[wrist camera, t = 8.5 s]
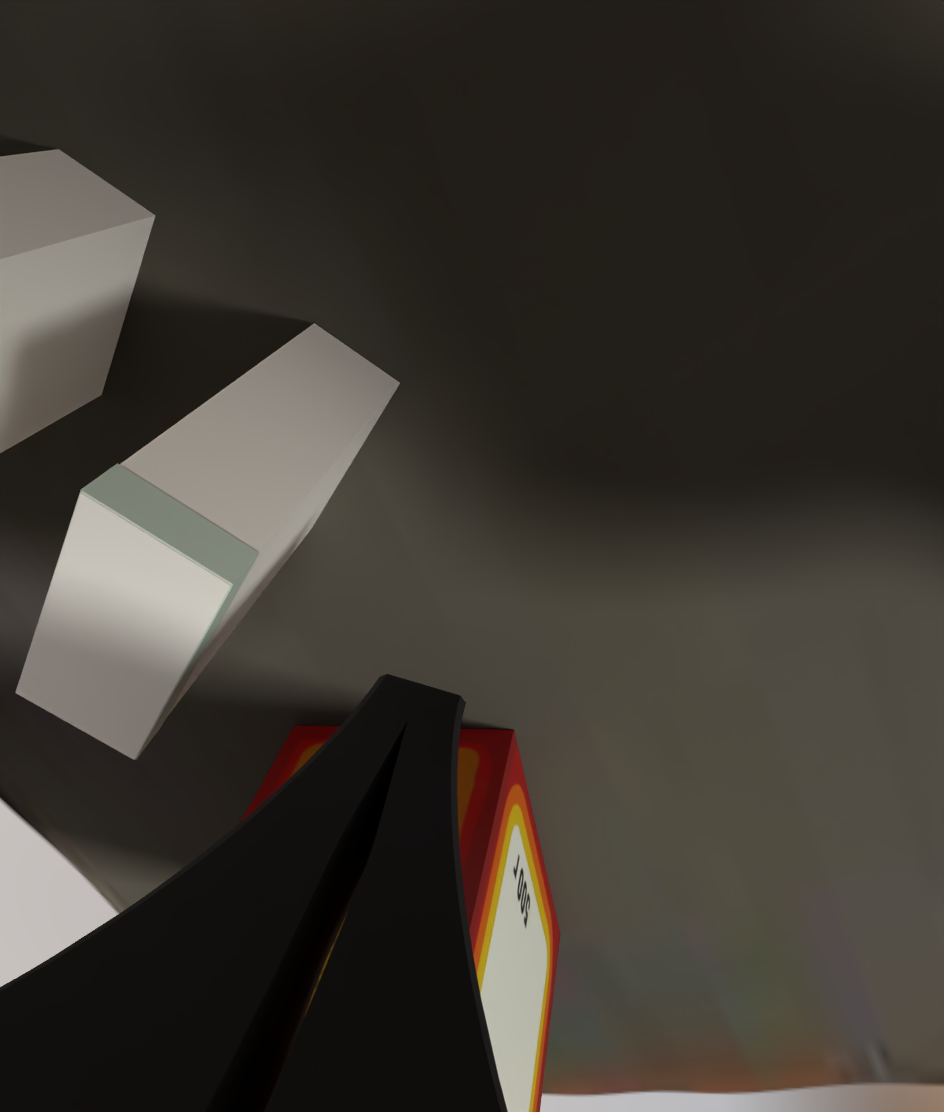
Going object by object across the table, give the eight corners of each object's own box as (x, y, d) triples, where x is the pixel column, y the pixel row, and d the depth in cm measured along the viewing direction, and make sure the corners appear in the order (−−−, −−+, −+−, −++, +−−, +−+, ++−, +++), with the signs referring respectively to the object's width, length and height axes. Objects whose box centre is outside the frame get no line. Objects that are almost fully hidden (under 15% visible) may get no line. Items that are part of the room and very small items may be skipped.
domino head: (401, 382, 14) (232, 585, 9) (311, 529, 17) (134, 761, 11) (313, 321, 14) (79, 490, 8) (236, 480, 17) (14, 693, 11)
